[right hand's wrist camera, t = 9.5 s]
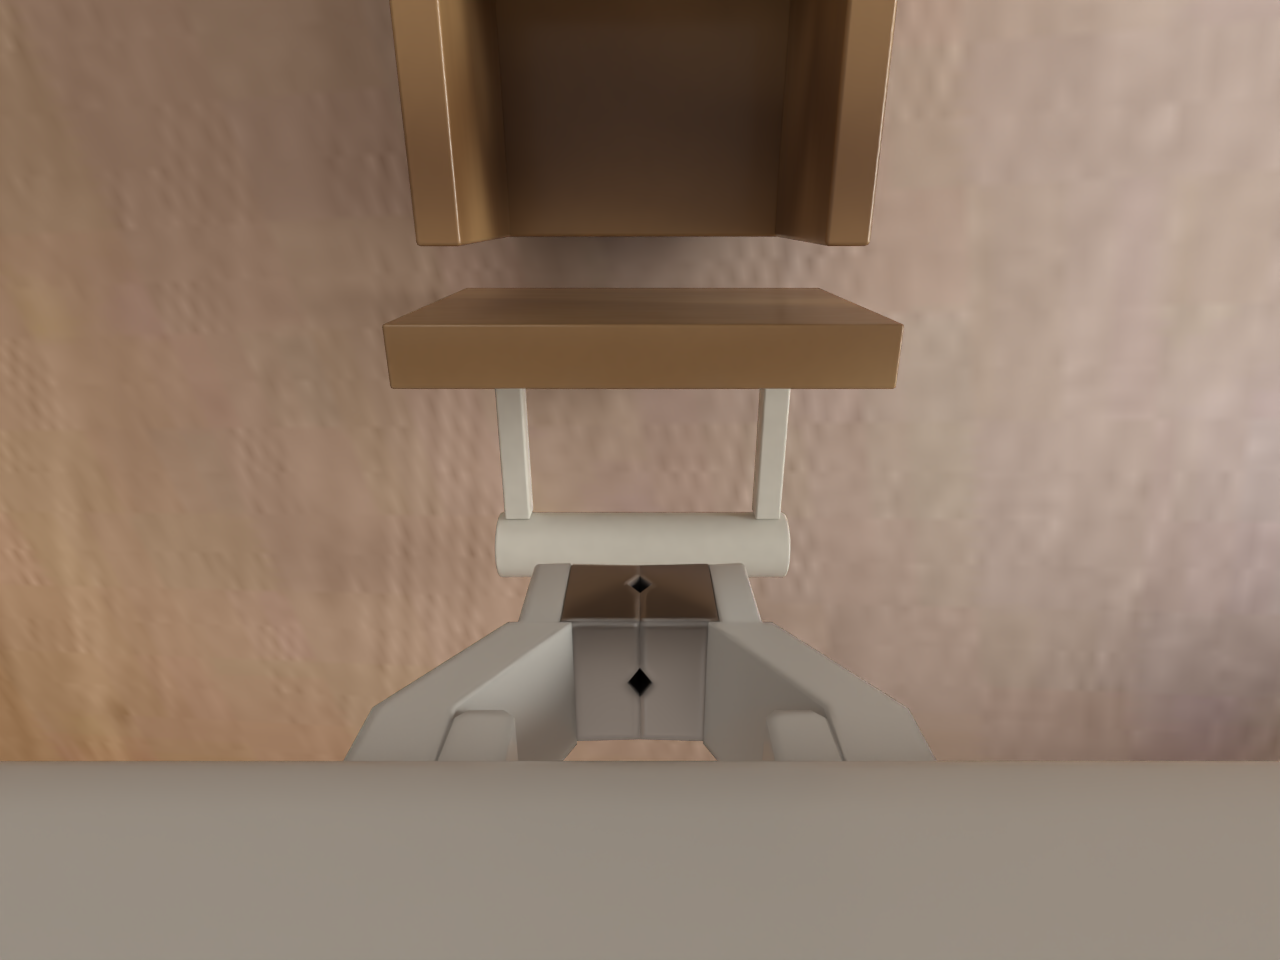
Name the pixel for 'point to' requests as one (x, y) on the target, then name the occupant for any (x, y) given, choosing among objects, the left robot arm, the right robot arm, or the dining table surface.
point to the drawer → (643, 225)
